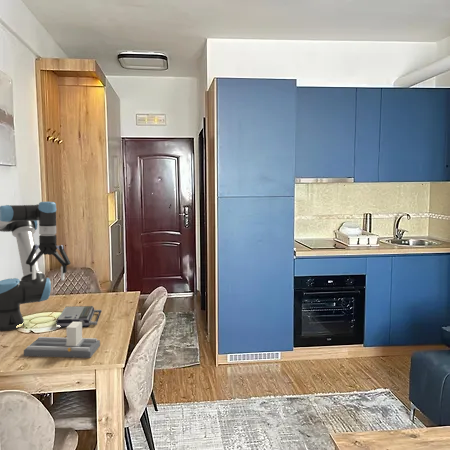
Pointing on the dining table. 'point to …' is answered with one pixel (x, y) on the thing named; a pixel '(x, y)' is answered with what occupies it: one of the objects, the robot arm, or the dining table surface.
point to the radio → (77, 316)
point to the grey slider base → (61, 348)
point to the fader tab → (74, 335)
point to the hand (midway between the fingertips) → (48, 279)
